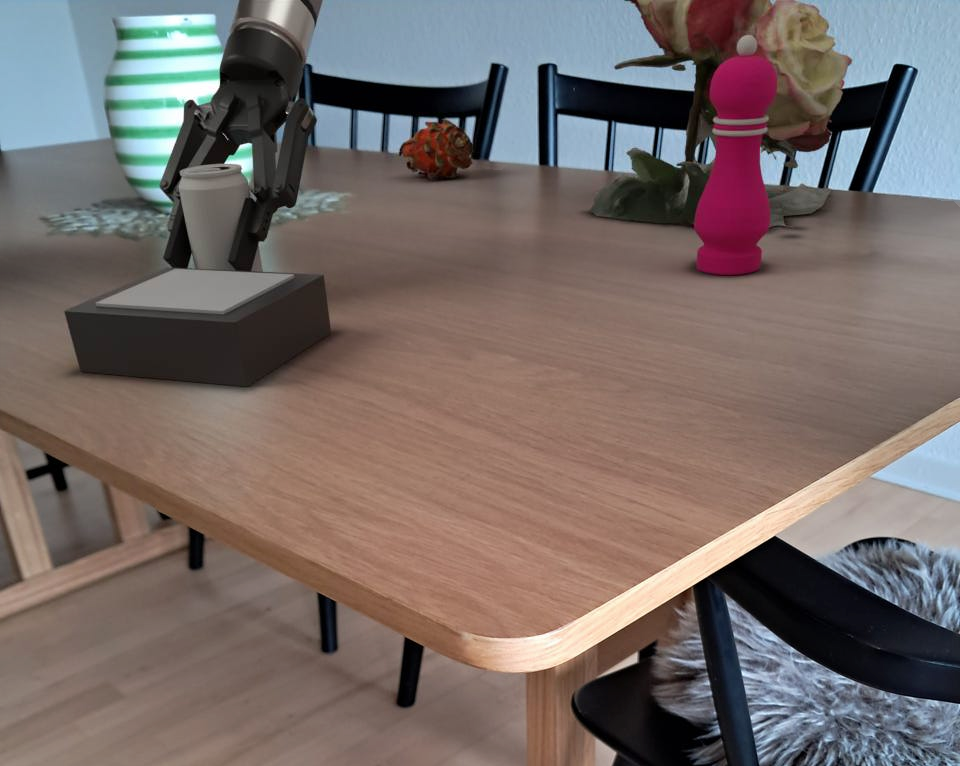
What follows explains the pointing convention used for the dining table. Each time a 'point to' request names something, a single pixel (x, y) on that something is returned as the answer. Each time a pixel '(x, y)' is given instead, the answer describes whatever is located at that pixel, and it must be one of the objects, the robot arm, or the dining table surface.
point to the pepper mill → (736, 166)
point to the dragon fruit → (438, 150)
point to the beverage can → (214, 212)
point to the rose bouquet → (709, 42)
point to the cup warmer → (200, 325)
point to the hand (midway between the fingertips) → (206, 267)
